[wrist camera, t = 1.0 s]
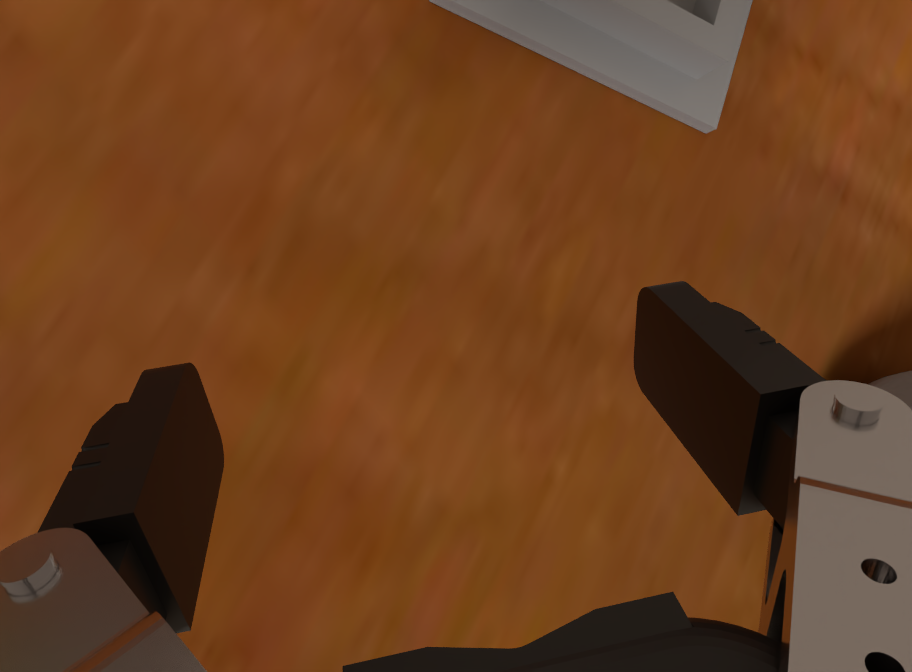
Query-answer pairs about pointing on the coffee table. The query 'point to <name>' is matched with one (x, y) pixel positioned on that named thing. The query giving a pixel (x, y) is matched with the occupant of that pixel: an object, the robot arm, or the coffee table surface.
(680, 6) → the candle dish
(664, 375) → the robot arm
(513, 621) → the coffee table surface
